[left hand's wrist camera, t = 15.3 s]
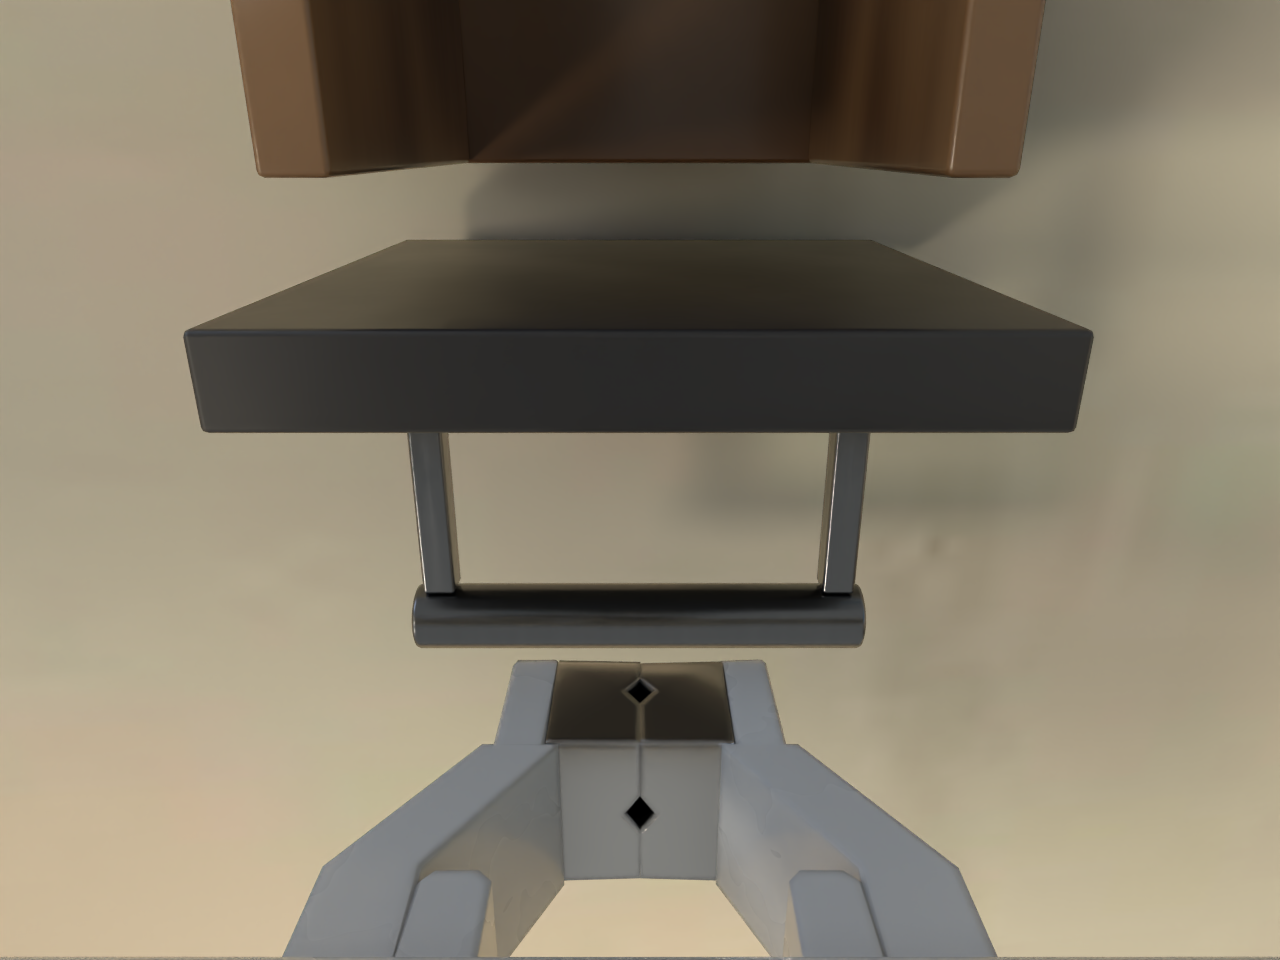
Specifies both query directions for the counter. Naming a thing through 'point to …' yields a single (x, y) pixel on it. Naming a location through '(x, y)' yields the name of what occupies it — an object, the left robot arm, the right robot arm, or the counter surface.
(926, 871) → the left robot arm
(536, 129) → the drawer
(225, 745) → the counter surface
